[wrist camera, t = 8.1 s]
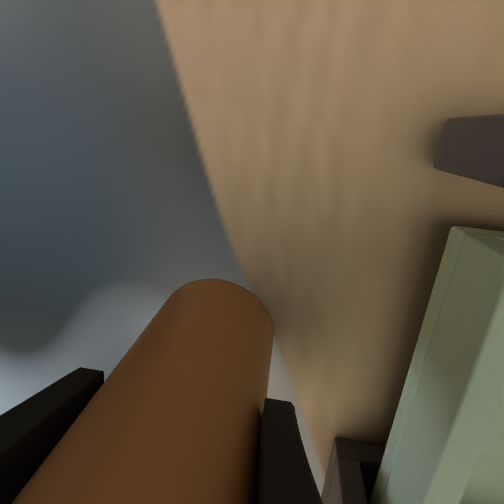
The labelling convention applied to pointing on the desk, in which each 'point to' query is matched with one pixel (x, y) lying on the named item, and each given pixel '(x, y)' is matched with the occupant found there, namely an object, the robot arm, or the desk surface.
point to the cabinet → (351, 472)
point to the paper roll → (172, 410)
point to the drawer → (456, 354)
